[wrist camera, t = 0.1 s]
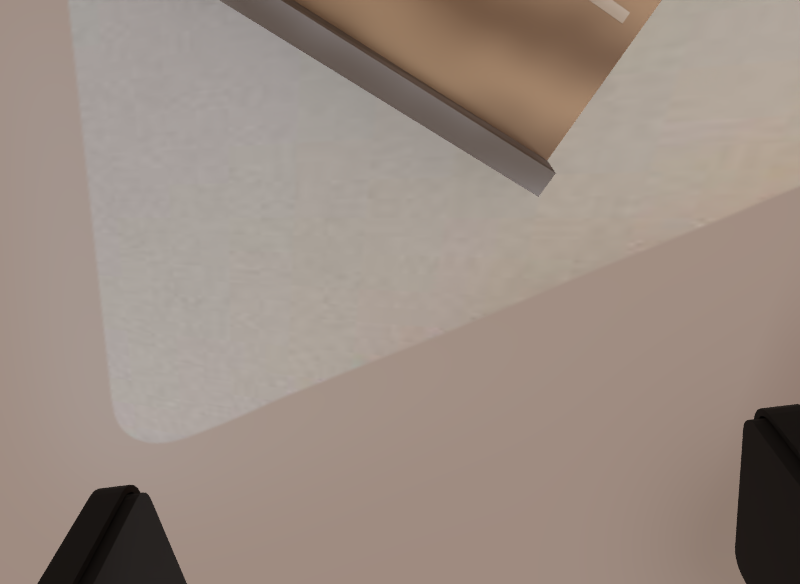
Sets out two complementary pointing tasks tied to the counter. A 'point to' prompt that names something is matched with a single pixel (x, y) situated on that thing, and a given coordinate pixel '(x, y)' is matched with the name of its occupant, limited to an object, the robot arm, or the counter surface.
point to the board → (469, 64)
